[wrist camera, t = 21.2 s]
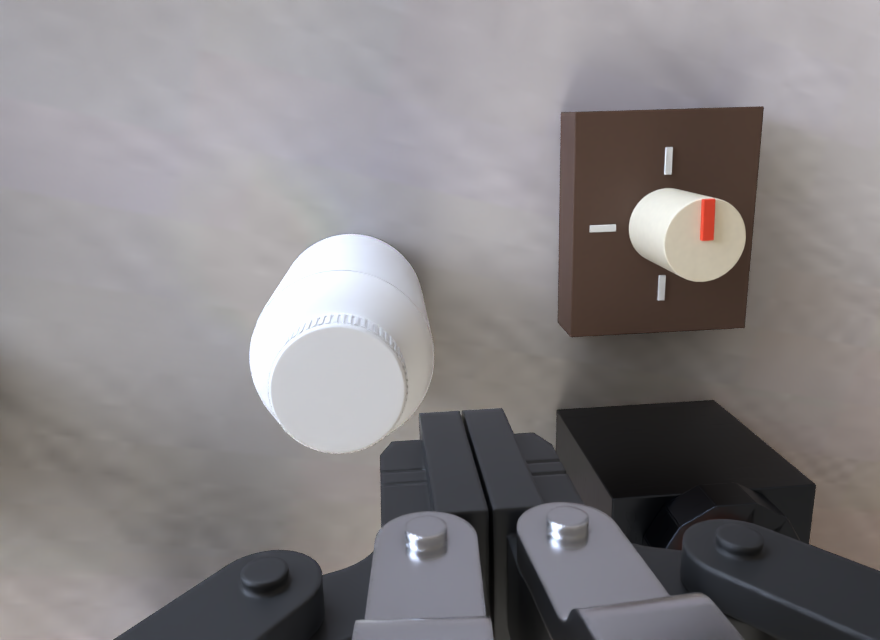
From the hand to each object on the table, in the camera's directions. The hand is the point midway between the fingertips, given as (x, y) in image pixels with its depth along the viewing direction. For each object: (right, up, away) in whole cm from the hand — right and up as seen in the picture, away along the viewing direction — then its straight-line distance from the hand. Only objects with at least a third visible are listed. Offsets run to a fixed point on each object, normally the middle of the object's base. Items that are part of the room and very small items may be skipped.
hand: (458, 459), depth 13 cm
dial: (+12, +8, +26) cm, 29 cm away
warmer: (+11, +8, +29) cm, 32 cm away
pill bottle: (-5, +4, +29) cm, 30 cm away
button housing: (+12, -8, +33) cm, 36 cm away
